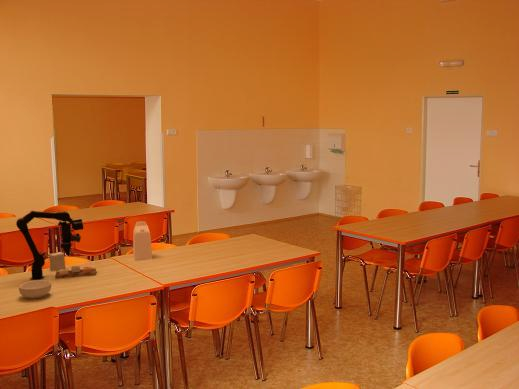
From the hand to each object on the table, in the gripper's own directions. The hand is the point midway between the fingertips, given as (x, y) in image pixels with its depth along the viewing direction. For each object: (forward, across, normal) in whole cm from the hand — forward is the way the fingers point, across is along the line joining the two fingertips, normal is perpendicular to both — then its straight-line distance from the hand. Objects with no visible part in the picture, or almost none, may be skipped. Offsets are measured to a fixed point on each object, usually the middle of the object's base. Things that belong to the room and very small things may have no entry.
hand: (68, 255), depth 348 cm
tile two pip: (+10, -3, -4) cm, 11 cm away
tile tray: (+12, -3, -4) cm, 13 cm away
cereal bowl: (+12, -42, +14) cm, 46 cm away
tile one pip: (+11, -3, +3) cm, 12 cm away
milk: (+14, +29, -46) cm, 56 cm away
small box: (+12, +16, +9) cm, 22 cm away
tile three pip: (+11, -2, -11) cm, 16 cm away
